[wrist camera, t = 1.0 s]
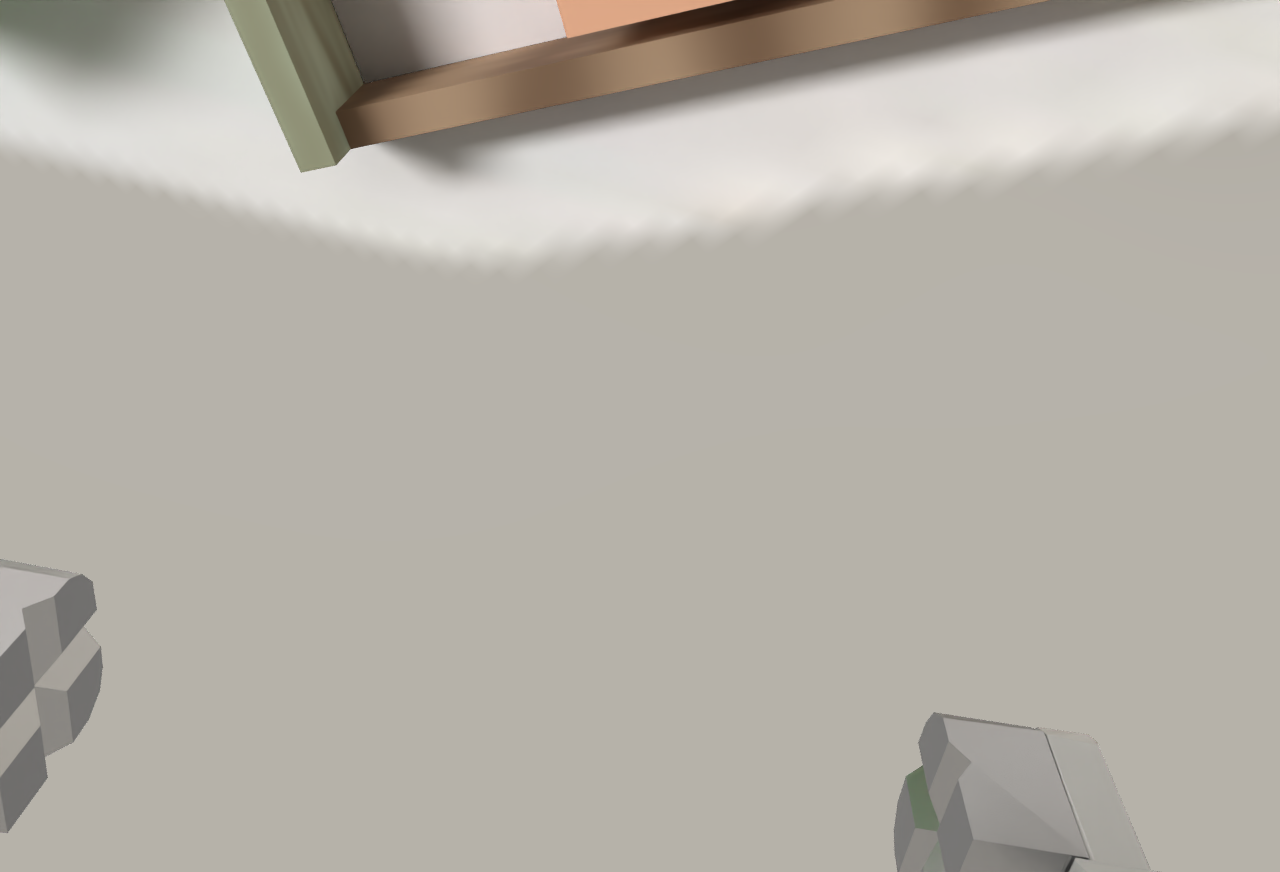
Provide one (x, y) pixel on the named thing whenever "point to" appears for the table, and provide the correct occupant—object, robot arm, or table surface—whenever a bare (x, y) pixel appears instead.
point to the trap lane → (536, 63)
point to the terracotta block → (619, 12)
